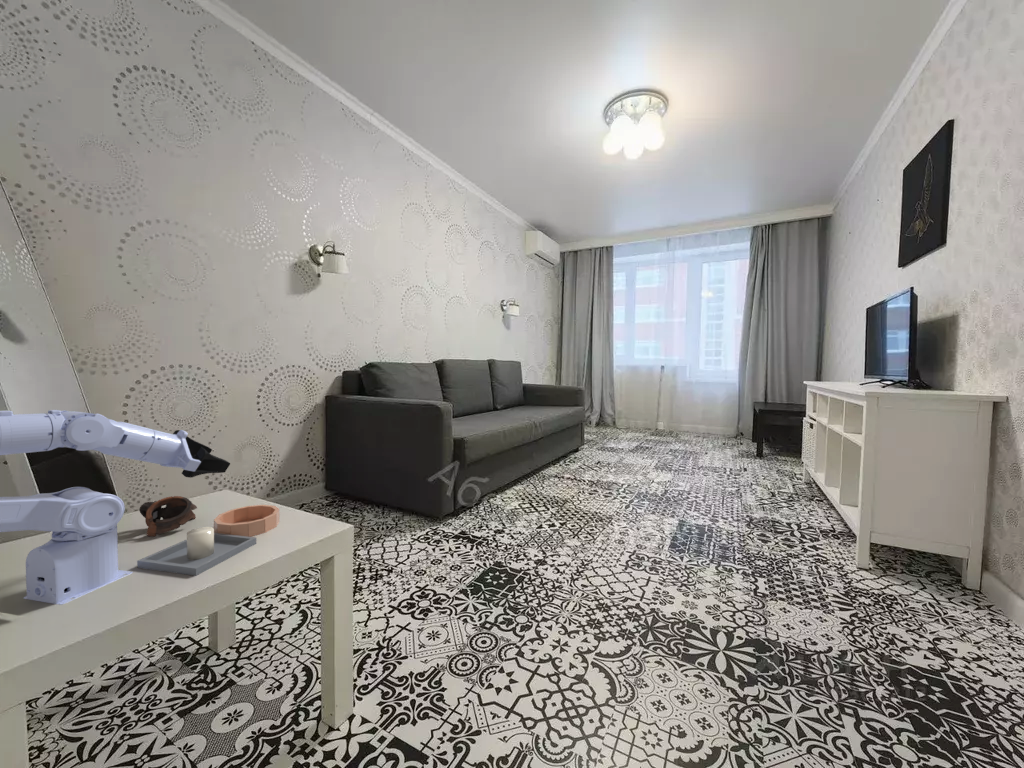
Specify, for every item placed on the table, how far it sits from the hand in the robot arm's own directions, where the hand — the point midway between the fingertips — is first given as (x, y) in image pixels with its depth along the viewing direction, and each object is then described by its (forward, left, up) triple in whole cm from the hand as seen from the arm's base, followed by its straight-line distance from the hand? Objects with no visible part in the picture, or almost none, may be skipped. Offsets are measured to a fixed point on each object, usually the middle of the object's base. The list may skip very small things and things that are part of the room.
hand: (217, 460), depth 82 cm
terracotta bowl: (+4, -3, -16) cm, 17 cm away
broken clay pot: (+1, +14, -17) cm, 22 cm away
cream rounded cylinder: (-8, -5, -16) cm, 18 cm away
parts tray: (-8, -5, -16) cm, 19 cm away
